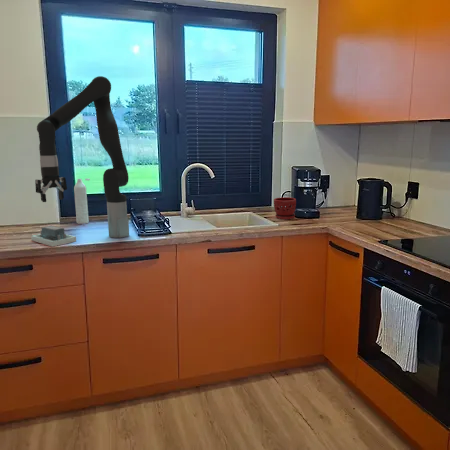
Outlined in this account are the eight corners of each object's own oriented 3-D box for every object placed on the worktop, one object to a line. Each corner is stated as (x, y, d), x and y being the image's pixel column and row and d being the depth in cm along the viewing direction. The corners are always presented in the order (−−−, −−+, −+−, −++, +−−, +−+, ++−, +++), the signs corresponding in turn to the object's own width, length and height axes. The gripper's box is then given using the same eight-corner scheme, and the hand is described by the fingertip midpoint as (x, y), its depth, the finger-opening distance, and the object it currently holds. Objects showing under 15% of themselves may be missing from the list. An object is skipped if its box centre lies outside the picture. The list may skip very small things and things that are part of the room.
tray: (76, 241, 194) (75, 232, 193) (52, 246, 185) (51, 237, 184) (55, 235, 205) (54, 227, 204) (31, 240, 196) (30, 231, 195)
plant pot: (282, 215, 257) (283, 196, 255) (299, 218, 248) (300, 198, 245) (268, 218, 249) (269, 198, 246) (285, 221, 239) (286, 201, 237)
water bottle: (75, 224, 231) (72, 179, 226) (77, 221, 237) (74, 178, 232) (92, 223, 233) (89, 179, 227) (93, 221, 239) (90, 177, 233)
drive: (64, 238, 194) (64, 228, 193) (55, 240, 190) (54, 230, 189) (51, 235, 200) (50, 225, 198) (42, 238, 195) (41, 227, 194)
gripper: (58, 164, 197) (61, 198, 200) (30, 166, 185) (33, 202, 189) (68, 164, 192) (71, 199, 196) (39, 166, 181) (43, 203, 184)
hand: (52, 200), depth 192 cm, fingers open, 8 cm apart
